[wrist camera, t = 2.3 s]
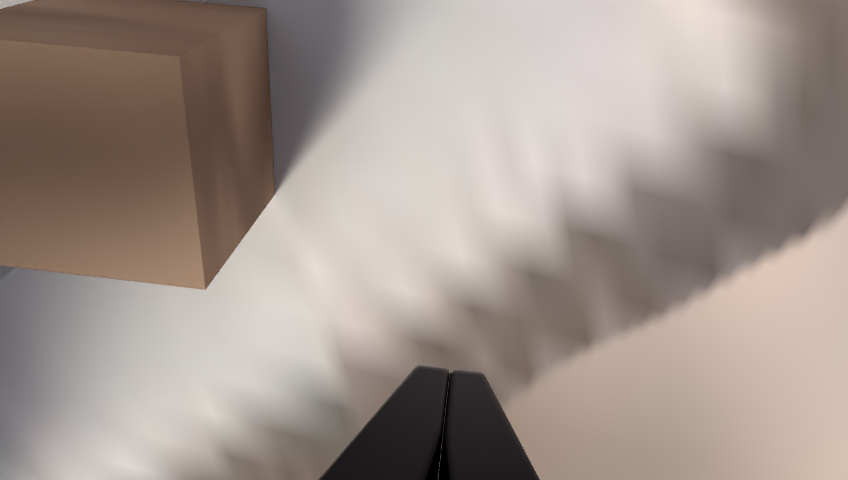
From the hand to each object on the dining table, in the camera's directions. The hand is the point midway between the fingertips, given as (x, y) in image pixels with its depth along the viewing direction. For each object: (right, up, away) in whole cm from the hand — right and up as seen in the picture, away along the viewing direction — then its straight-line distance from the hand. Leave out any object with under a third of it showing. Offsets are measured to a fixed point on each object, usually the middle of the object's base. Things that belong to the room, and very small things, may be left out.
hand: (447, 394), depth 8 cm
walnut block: (-7, +6, +9) cm, 13 cm away
